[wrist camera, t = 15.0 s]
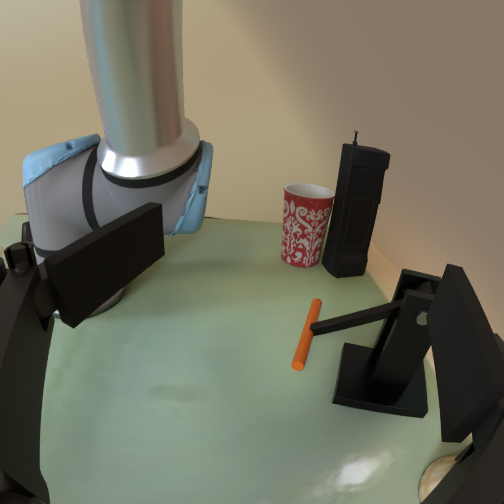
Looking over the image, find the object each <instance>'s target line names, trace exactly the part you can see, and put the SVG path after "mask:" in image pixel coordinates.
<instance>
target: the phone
mask: <svg viewBox="0 0 504 504" xmlns="http://www.w3.org/2000/svg"><path fill="white" fill-rule="evenodd" d="M22 241H28V242H31V243H32V244H33V246H35V245H34V241H33V237H32V232H31V228H30V223H29V221H28V222H25V223H23V225H22ZM22 241H21V242H22Z"/></svg>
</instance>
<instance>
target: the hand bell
mask: <svg viewBox="0 0 504 504" xmlns="http://www.w3.org/2000/svg"><path fill="white" fill-rule="evenodd" d="M457 456H458V455H450V456H445V457H442V458H439V459H437V460H436V461H434V462H433V463H432V464H430V465H429V466H428V468H427V469H426V470H425V471H424V473H423V475H422V477H421V480H420V484H419V500H420V503H421V502H422V501H423V500H424V499H425V498H426V497H427V496H428V495H429V494H430V492H431V491H432V490H433V489H434V488H435V487H436V486H437V485H438V483H439V482H440V481H441V480H442V479H443V477H444V476H445V475H446V474H447V473H448V471H449V470H450V469H451V468H452V466H453V465H454V464H455V463H456V461H457V460H456V461H455V460H454V458H456V457H457Z"/></svg>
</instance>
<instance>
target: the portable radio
mask: <svg viewBox="0 0 504 504" xmlns="http://www.w3.org/2000/svg"><path fill="white" fill-rule="evenodd" d="M355 132H356V133H355V139H354V141H353V144H343V147H342V154H341V161H340V168H339V174H338V180H337V187H336V193H335V199H334V205H333V210H332V215H331V221H330V226H329V231H328V236H327V240H326V245H325V249H324V253H323V258H322V265H323V266H324V267H325V268H326V269H327V271H328V272H329V273H330V274H332V275H333V276H335V277H337V278H340V277H350V276H360V275H363V274H364V272H365V269H366V265H367V261H368V259H367V253H368V249H369V245H370V240H371V236H372V232H373V228H374V223H375V219H376V214H377V209H378V204H380V201H381V193H382V187H383V179H384V173H385V170H386V169H388V167H389V160H390V154H389V153H387V152H385V151H383V150H380V149H376V148H373V147H366V146H360V145H357V142H356V139H357V133H358V132H357V131H355Z"/></svg>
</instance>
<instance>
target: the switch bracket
mask: <svg viewBox="0 0 504 504" xmlns="http://www.w3.org/2000/svg"><path fill="white" fill-rule="evenodd" d="M428 281H429V283H430V286H431V289H432V292H433V295H432V294H427V293H423V292H418V291H414V290H409V289H407V290H406V293H405V296H404V293H403V289H406V288H409V287H412V286H415V285H418V284H421V283H425V282H428ZM440 282H441V277H438V276H433V275H429V274H425V273H421V272H416V271H412V270H407V269H403V270H402V272H401V275H400V278H399V281H398V284H397V287H396V290H395V293H394V296H393V299H392V301H391V302H394V301H397V300H401V299H403V301H402V304H401V306H400V309H399V311H398V314H397V315H396V316H393V317H389V318H385V320H384V323H383V325H382V328H381V330H380V333H379V335H378V338H377V340H376V343H375V345H374V347H373V348H369V347H364V346H359V345H355V344H350V343H346V342H345V343H344V345H343V348H342V353H341V359H340V365H339V371H338V376H337V381H336V387H335V392H334V397H333V401H332V403H333V404H338V405H343V406H348V407H353V408H358V409H364V410H369V411H375V412H381V413H388V414H394V415H401V416H409V417H417V418H423V417H424V416H425V415H426V414H427V412H428V405H427V392H426V381H425V371H424V363H423V359H424V357H425V355H426V353H427V352H428V350H429V348H430V346H431V341H430V335H429V330H428V325H427V320H426V315H427V313H428V311H429V308H430V306H431V304H432V301H433V299H434V296H435V294H436V292H437V289H438V287H439V284H440Z"/></svg>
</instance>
